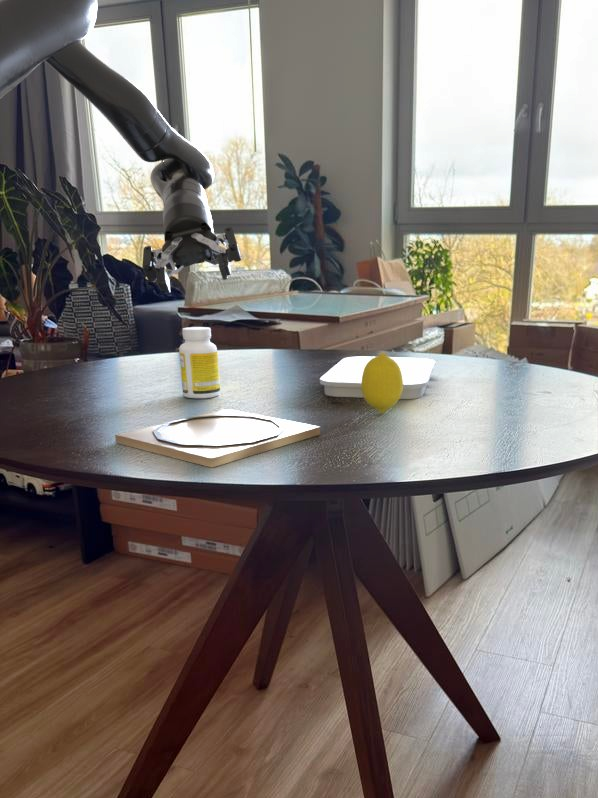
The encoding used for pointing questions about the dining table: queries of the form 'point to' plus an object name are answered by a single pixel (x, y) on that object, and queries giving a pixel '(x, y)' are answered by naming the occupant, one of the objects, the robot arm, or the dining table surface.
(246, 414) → the mirror board
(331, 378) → the white rectangular tray
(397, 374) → the lemon
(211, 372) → the supplement bottle
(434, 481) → the dining table surface
